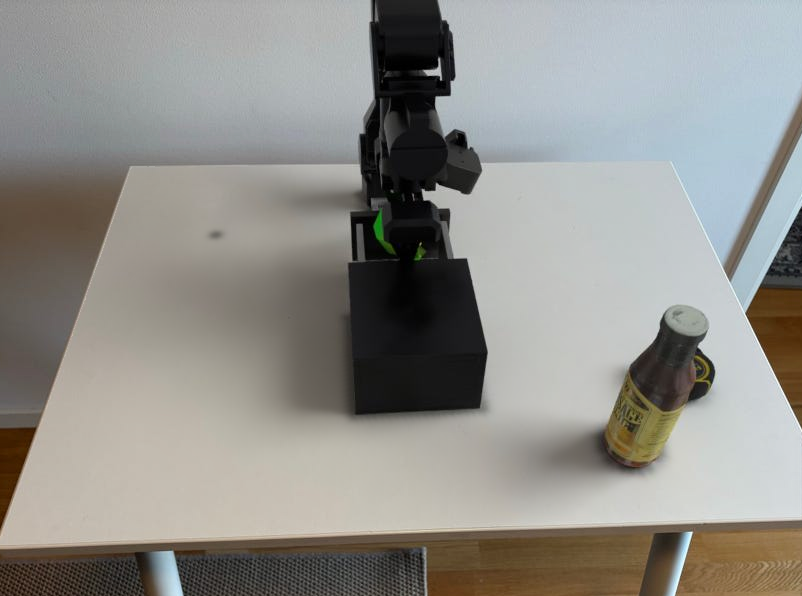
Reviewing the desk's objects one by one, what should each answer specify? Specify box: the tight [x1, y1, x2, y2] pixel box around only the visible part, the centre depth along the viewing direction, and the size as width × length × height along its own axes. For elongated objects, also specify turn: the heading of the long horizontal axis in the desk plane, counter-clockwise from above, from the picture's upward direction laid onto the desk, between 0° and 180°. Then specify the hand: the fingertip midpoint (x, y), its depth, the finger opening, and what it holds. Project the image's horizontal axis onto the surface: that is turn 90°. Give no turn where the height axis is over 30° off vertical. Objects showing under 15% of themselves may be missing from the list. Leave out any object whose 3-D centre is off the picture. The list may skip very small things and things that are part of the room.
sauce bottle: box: [603, 304, 710, 468], centre depth 74 cm, size 7×6×20 cm
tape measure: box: [687, 346, 716, 402], centre depth 86 cm, size 7×7×4 cm
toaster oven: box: [347, 257, 489, 416], centre depth 86 cm, size 16×14×9 cm
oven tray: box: [349, 196, 455, 262], centre depth 95 cm, size 19×13×7 cm
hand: (404, 243), depth 92 cm, fingers closed on apple, 8 cm apart
